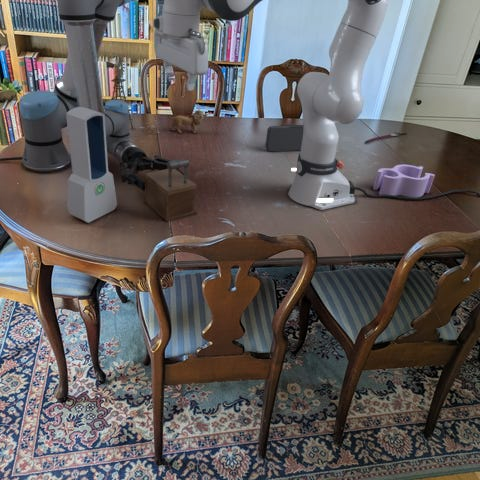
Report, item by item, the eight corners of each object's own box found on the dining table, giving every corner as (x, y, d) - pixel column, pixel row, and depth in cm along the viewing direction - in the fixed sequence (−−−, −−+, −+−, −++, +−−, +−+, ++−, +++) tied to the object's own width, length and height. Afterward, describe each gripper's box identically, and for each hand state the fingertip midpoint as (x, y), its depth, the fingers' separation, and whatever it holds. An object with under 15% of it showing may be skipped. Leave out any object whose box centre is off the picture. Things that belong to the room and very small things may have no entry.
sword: (403, 131, 224) (404, 129, 223) (408, 133, 222) (409, 131, 221) (360, 143, 208) (360, 140, 207) (365, 145, 206) (366, 142, 205)
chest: (194, 213, 141) (195, 187, 136) (166, 221, 135) (166, 194, 131) (173, 195, 149) (173, 171, 144) (146, 202, 144) (145, 177, 139)
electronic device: (85, 224, 129) (74, 119, 113) (67, 215, 132) (53, 112, 116) (118, 208, 139) (112, 108, 122) (99, 200, 142) (92, 102, 125)
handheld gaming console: (315, 147, 196) (319, 124, 190) (317, 149, 194) (322, 126, 188) (264, 149, 189) (267, 125, 183) (266, 152, 187) (269, 127, 181)
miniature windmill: (125, 135, 188) (121, 57, 171) (105, 132, 189) (100, 54, 172) (134, 128, 195) (131, 52, 179) (115, 125, 196) (110, 49, 180)
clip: (386, 199, 160) (391, 181, 156) (367, 183, 170) (371, 166, 166) (433, 195, 166) (439, 178, 163) (412, 180, 176) (417, 163, 172)
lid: (196, 188, 136) (197, 160, 131) (167, 195, 130) (167, 167, 126) (173, 171, 144) (173, 144, 139) (145, 176, 139) (145, 149, 134)
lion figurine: (200, 128, 202) (201, 108, 197) (204, 133, 198) (205, 112, 193) (167, 129, 197) (167, 108, 192) (170, 134, 193) (170, 113, 188)
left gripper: (164, 160, 165) (197, 184, 151) (96, 174, 151) (126, 202, 137) (164, 140, 161) (198, 163, 147) (95, 152, 147) (125, 179, 133)
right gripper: (216, 34, 106) (212, 94, 114) (171, 18, 120) (170, 73, 127) (192, 34, 103) (190, 97, 110) (149, 18, 116) (149, 75, 124)
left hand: (163, 182), depth 142 cm, fingers open, 13 cm apart
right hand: (179, 84), depth 119 cm, fingers open, 8 cm apart
